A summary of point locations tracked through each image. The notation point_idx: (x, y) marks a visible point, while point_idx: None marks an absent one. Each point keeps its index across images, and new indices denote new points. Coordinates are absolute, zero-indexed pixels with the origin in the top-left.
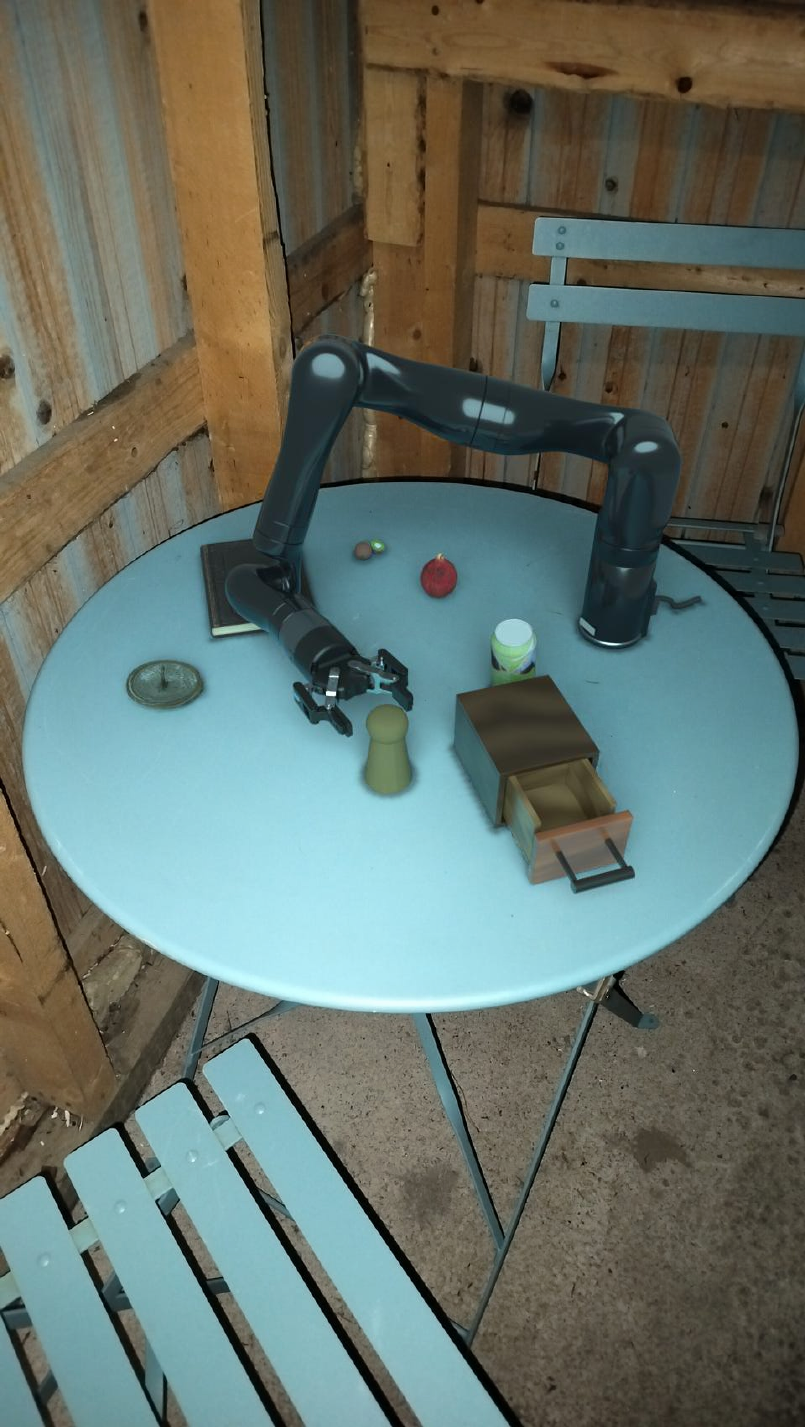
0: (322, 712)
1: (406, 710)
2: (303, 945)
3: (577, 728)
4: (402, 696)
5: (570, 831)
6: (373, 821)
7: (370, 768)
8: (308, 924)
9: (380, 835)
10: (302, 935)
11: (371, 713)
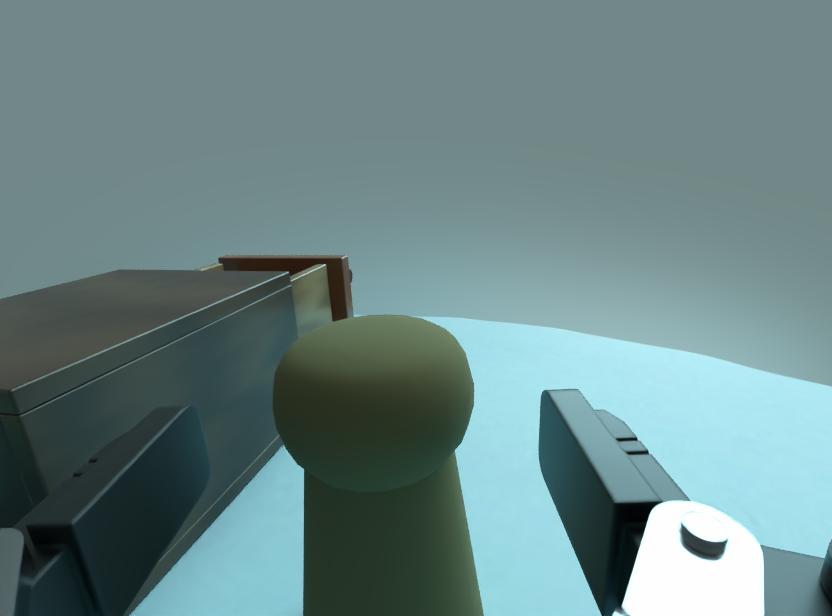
0: (764, 546)
1: (206, 474)
2: (708, 382)
3: (64, 286)
4: (168, 438)
5: (303, 255)
6: (522, 512)
7: (474, 565)
8: (702, 398)
9: (519, 476)
10: (712, 391)
11: (428, 357)
